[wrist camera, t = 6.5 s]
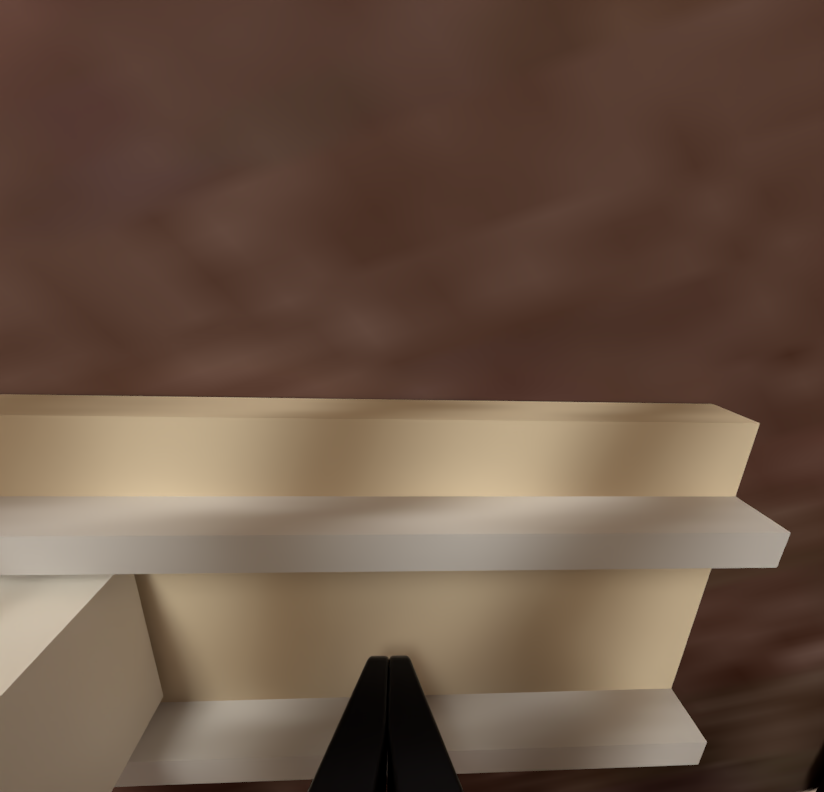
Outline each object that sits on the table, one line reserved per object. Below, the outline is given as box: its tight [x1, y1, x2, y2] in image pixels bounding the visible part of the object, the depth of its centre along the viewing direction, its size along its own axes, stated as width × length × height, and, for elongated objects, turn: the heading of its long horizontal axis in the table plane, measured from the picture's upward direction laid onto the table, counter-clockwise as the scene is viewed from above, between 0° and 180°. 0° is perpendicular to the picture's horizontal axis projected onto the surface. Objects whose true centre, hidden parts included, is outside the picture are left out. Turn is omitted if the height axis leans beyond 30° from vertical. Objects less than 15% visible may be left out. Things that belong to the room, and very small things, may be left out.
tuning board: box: [0, 394, 791, 787], centre depth 9 cm, size 18×10×2 cm, turn 88°
